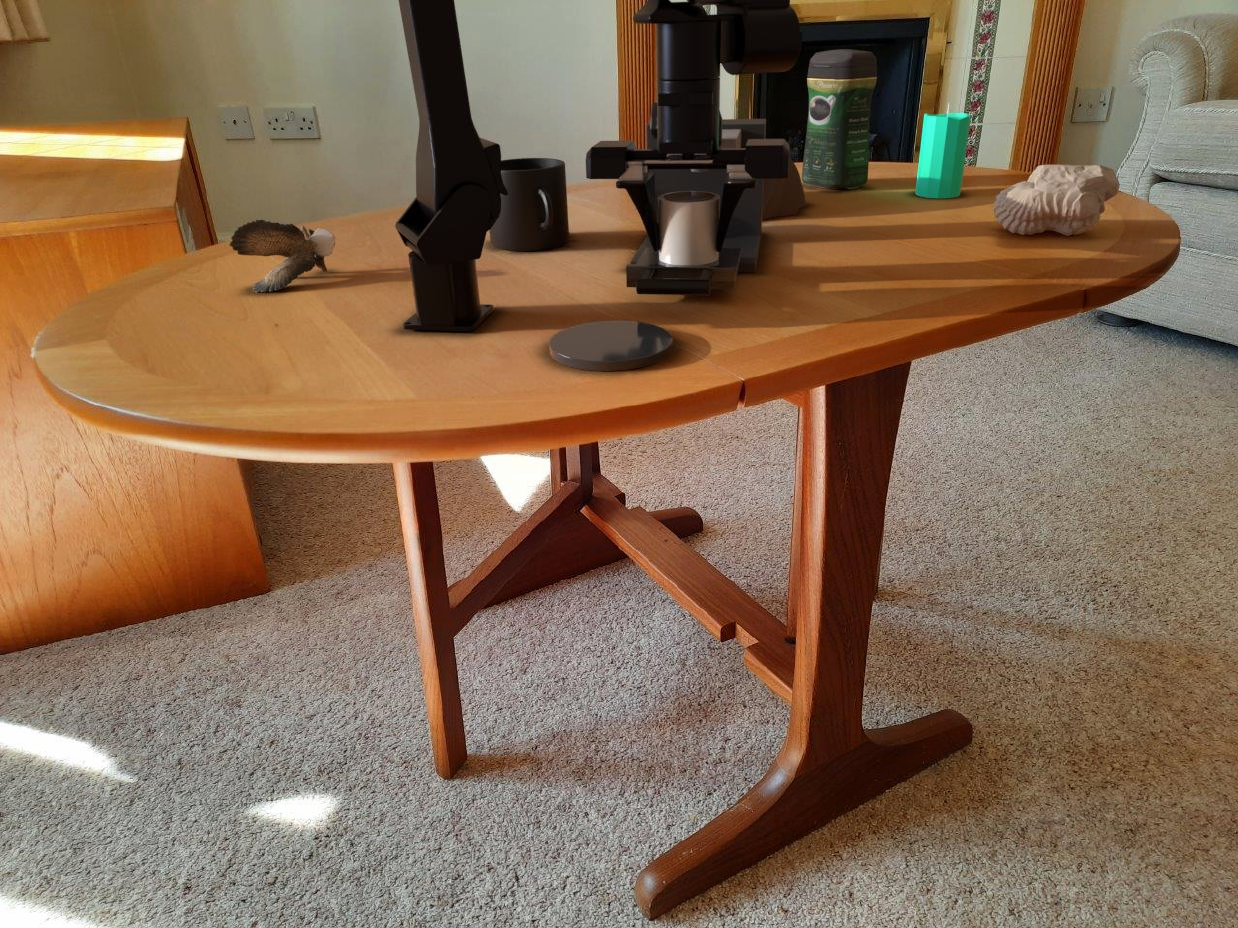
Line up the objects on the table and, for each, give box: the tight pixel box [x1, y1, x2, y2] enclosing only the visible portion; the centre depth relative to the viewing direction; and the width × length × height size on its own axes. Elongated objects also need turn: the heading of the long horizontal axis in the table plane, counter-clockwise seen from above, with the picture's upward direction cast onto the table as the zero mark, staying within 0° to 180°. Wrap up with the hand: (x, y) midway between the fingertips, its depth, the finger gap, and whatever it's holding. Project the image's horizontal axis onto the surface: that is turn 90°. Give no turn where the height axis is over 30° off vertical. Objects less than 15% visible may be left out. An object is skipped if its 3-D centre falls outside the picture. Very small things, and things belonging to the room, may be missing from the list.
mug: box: [488, 157, 570, 252], centre depth 103 cm, size 9×12×9 cm
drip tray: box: [625, 247, 742, 296], centre depth 85 cm, size 18×10×2 cm, turn 170°
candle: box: [914, 102, 972, 199], centre depth 122 cm, size 6×6×12 cm
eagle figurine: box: [228, 219, 336, 293], centre depth 93 cm, size 8×7×9 cm
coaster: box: [548, 320, 674, 372], centre depth 72 cm, size 10×10×1 cm
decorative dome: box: [762, 137, 807, 221], centre depth 119 cm, size 19×20×10 cm
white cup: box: [658, 191, 720, 265], centre depth 87 cm, size 6×6×6 cm
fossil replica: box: [992, 163, 1121, 237], centre depth 100 cm, size 12×8×10 cm
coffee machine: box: [629, 118, 767, 274], centre depth 97 cm, size 18×13×13 cm
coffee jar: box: [801, 48, 878, 190], centre depth 129 cm, size 10×8×19 cm
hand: (687, 250), depth 87 cm, fingers closed on white cup, 6 cm apart
